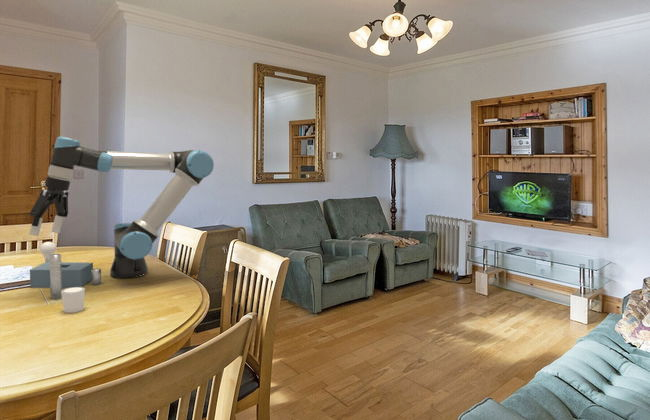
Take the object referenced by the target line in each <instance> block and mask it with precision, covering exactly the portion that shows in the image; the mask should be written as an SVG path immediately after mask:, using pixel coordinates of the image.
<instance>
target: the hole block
mask: <svg viewBox="0 0 650 420" xmlns="http://www.w3.org/2000/svg"><path fill="white" fill-rule="evenodd" d="M61 269H62V289H66V288H71V287H83V286H85V285H86V284H88V283H89V282H91V270H92V269H94V262H77V261H76V262H72V261H71V262H66V261H65V262H62V261H61ZM29 285H30V287H29V288H33V289H34V288H40V289H41V288H44V289H45V288H50V262H46V263H45V262H43V263H42V264H39V265H37V266H35V267H33V268H31V269H29ZM50 289H51V288H50Z"/></svg>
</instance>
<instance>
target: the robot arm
mask: <svg viewBox="0 0 650 420" xmlns="http://www.w3.org/2000/svg"><path fill="white" fill-rule="evenodd" d="M75 167H81V168H85V169H89V170H92V171H97V172H99V173H100V172H102V173H109V172H110V171H111V170H131V171H133V170H136V171H138V170H139V171H142V170H143V171H169V173H173V174H175V175H174V176H173V177H172V179H170V181H169V182H168V183H167V184H166V185H165V187H164V188H163V190H162V191H161V192H160V193H159V195H158V196H157V197H156V198H155V200H154V201H153V202H152V203H151V205H150V206H149V207H148V209H147V210H146V211H144V213H143V215H142V216H141V217H140V219H135V220H133V221H132V222H121V223H120V222H119V223H118V222H117V223H116V224H114V227H113V232H114V237H113V238H114V241H113V243H114V258H113V261H112V264H111V267H110V273H109V274H110V277H112V278H115V277H116V278H117V279H130V278H129V277H134V278H137V277H136V276H140V275H143V274H145V273H147V272H148V273H149V267H148V265H147V261H146V259H145V257H147V256H148V255H149V254H150V253H151V251H152V249H153V244H154V243H155V241H156V240H157V239H158V237H159V230H160V229H161V227H163V225H164V223H165V222H166V221H167V220H168V219H169V217H170V216H171V214H173V212H174V211H175V209H176V208H177V207H178V206H179V204H180V203H181V202H182V201H183V200H184V198H185V197H186V195H187V194H188V193H189V192H190V191H191V189H192V188H193V187H196V186H199V184H200V183H201V182H202V181H203V180H204V178H207V177H208V176H209V175H211V173H212V172H213V170H214V167H215V166H214V160H213V157H212V156H211V155H210V154H209V153H208V152H206V151H204V150H201V149H194V150H193V149H189V150H184V151H183V150H182V151H170V152H169V153H163V152H162V153H159V152H140V151H139V152H138V151H137V152H136V151H113V150H95V149H92V148H91V149H90V148H87V147H83V146H81V142H80V141H79V140H77V139H74V138H71V137H66V136H58V137H56V140H55V143H54V147H53V149H52V154H51V159H50V164H49V167H48V168H47V169H48V171H47V175H48V176H47V177H46V179H45V181H44V182H45V183H44V186H45V187H46V188H47V189H43V188H42V189H41V190H40V194H39V196H38V198H37V200H36V201H35V203H34V205H33V207H32V208H31V211H30V212H29V216H31V217H33V219H32V222H31V226H30V230H29V235H32V236H36V237H39V235H40V233H41V232H40V231H41V228H42V223H43V219H44V218H43V216H44V214H45V213H46V211H48V209H49V207H50V206H51V205H54V207H55V211H56V215H55V216H54V220H53V224H52V228H51V233H55V234H60V233H61V230H62V225H63V221H64V218H67V217H68V214H69V199H68V198H69V192H68V191H69V188H70V184H71V181H70V180H72V177H73V172H74V168H75ZM148 273H147V274H148ZM143 276H144V275H143ZM140 277H141V276H140Z"/></svg>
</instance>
